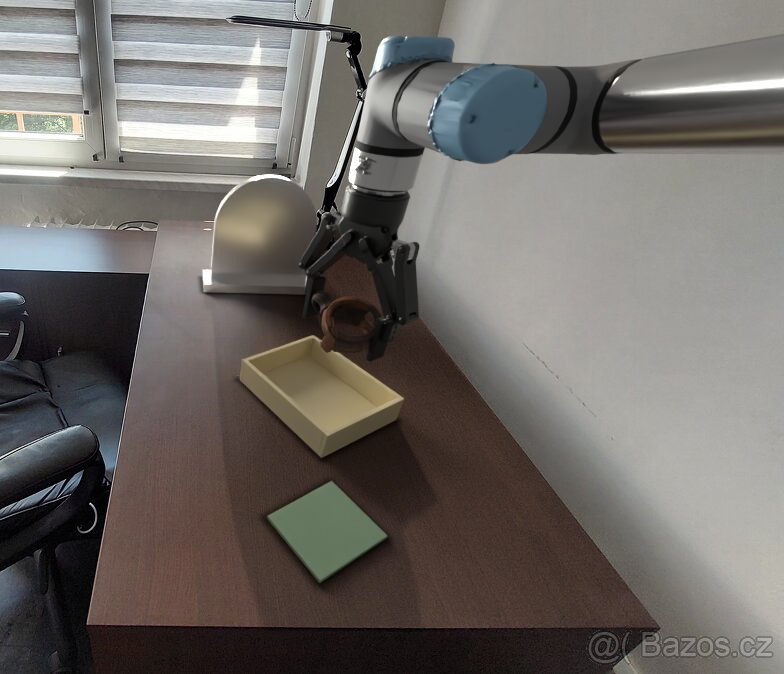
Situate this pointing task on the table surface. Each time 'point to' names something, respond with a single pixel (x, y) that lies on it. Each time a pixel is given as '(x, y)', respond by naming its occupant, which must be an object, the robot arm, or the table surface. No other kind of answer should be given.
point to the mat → (326, 530)
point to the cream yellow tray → (320, 394)
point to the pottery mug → (344, 321)
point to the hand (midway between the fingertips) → (340, 335)
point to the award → (261, 238)
